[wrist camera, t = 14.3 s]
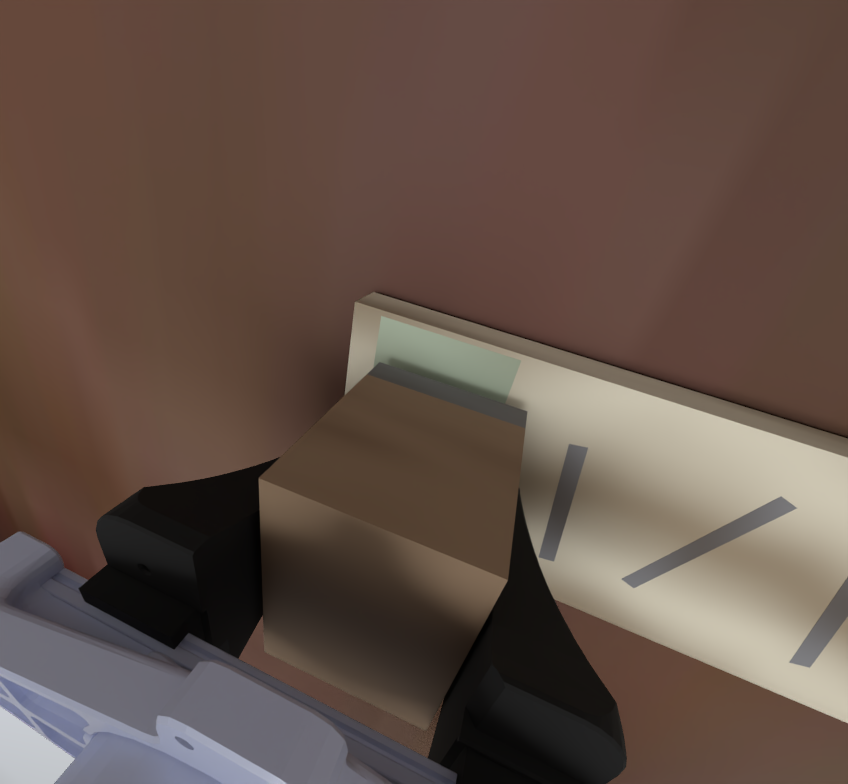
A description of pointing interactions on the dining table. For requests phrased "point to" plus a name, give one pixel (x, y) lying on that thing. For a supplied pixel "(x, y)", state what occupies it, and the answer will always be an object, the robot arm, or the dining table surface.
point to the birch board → (658, 500)
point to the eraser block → (390, 538)
